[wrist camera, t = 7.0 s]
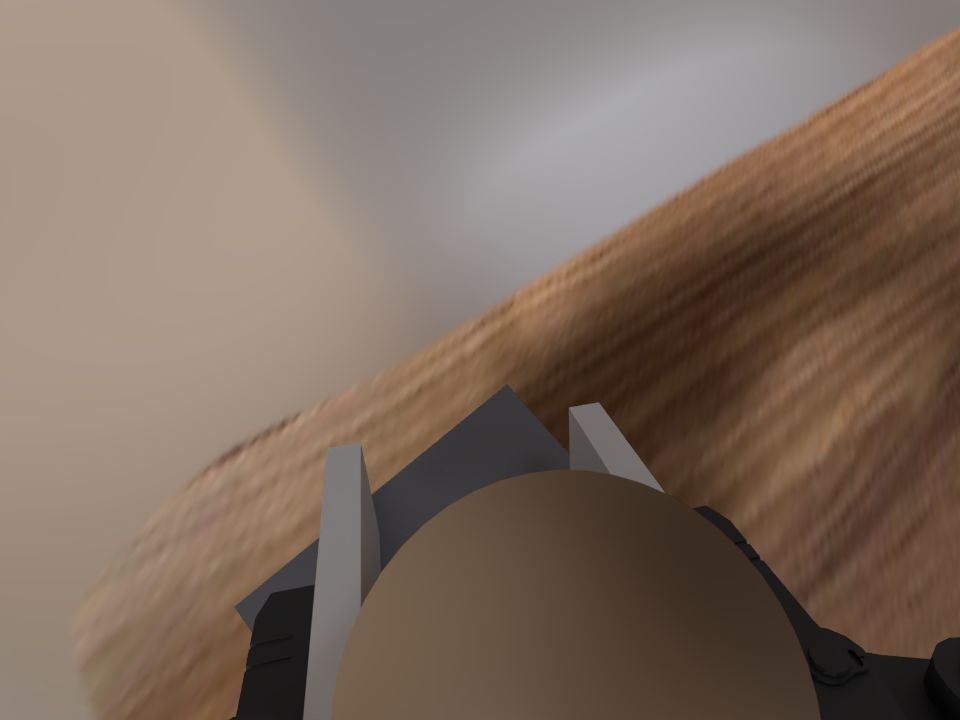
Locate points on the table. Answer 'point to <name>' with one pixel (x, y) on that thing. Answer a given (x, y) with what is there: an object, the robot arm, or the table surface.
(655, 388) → the table surface
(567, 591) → the plunger
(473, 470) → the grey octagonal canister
